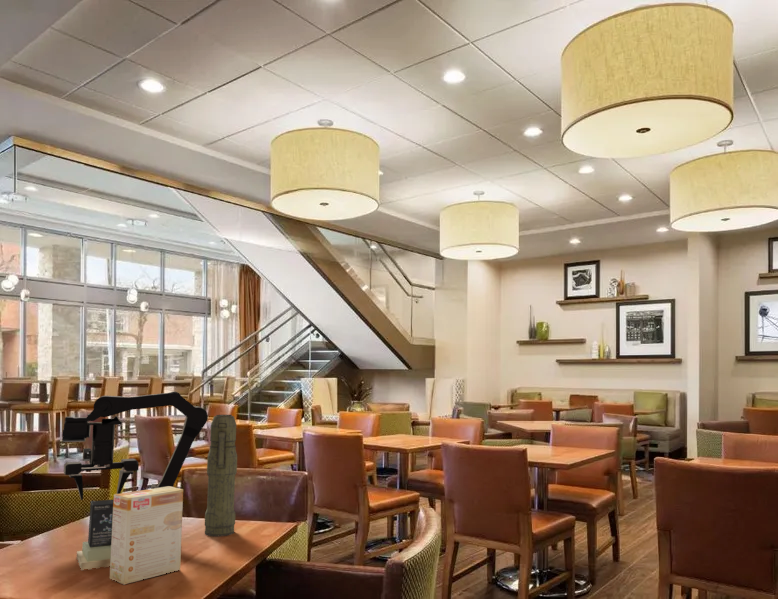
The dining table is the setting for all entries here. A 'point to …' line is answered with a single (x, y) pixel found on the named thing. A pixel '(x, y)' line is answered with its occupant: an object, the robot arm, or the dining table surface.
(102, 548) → the upper slab
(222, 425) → the thermos
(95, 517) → the box
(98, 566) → the lower slab
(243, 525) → the dining table surface
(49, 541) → the dining table surface
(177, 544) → the coffeecake box
